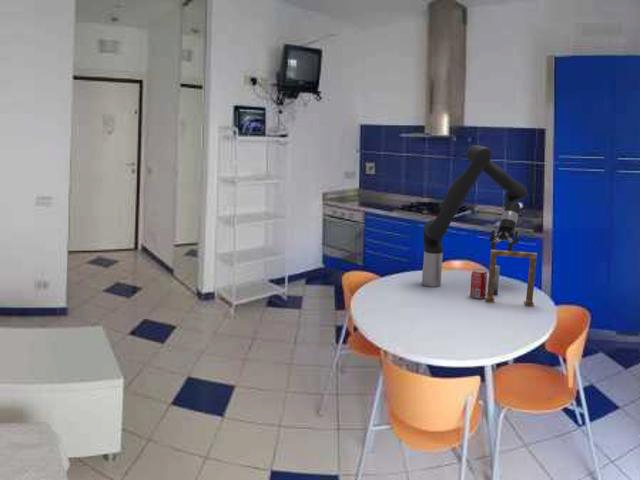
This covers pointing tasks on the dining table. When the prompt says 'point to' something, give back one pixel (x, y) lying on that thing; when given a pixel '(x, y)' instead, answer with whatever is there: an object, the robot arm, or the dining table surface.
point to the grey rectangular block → (496, 280)
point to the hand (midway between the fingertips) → (500, 250)
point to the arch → (530, 277)
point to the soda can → (478, 283)
